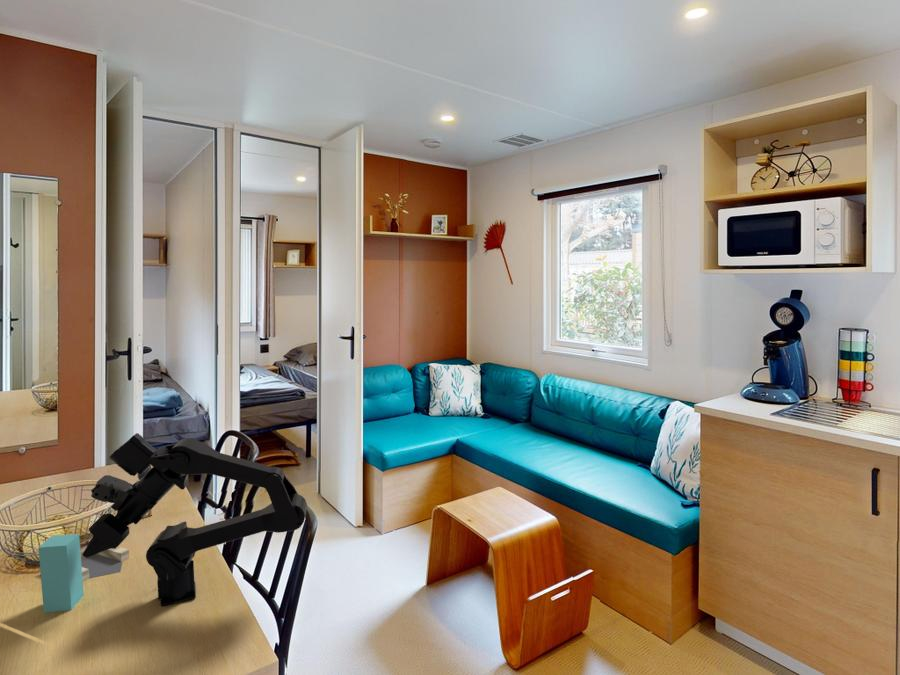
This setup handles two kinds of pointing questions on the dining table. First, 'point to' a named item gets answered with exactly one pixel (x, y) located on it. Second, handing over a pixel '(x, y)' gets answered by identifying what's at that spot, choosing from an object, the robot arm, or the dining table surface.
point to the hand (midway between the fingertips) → (95, 544)
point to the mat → (101, 565)
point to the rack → (111, 553)
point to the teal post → (61, 572)
